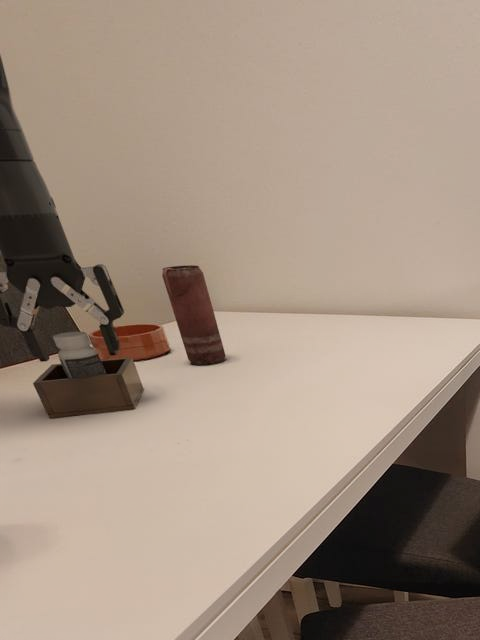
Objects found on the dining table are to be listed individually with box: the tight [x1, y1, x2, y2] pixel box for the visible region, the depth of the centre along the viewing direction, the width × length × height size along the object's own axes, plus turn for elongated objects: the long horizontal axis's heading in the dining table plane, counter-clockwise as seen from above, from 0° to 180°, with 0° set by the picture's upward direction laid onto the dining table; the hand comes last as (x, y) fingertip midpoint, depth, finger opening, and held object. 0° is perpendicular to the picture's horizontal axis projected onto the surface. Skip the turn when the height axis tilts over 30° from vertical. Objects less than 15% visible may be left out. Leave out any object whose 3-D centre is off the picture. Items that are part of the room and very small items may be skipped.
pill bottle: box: [52, 331, 106, 378], centre depth 81 cm, size 5×5×8 cm
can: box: [161, 264, 226, 366], centre depth 98 cm, size 6×6×14 cm
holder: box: [32, 357, 144, 419], centre depth 82 cm, size 11×11×4 cm
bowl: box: [87, 323, 171, 362], centre depth 106 cm, size 12×12×4 cm
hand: (80, 357), depth 80 cm, fingers open, 8 cm apart
